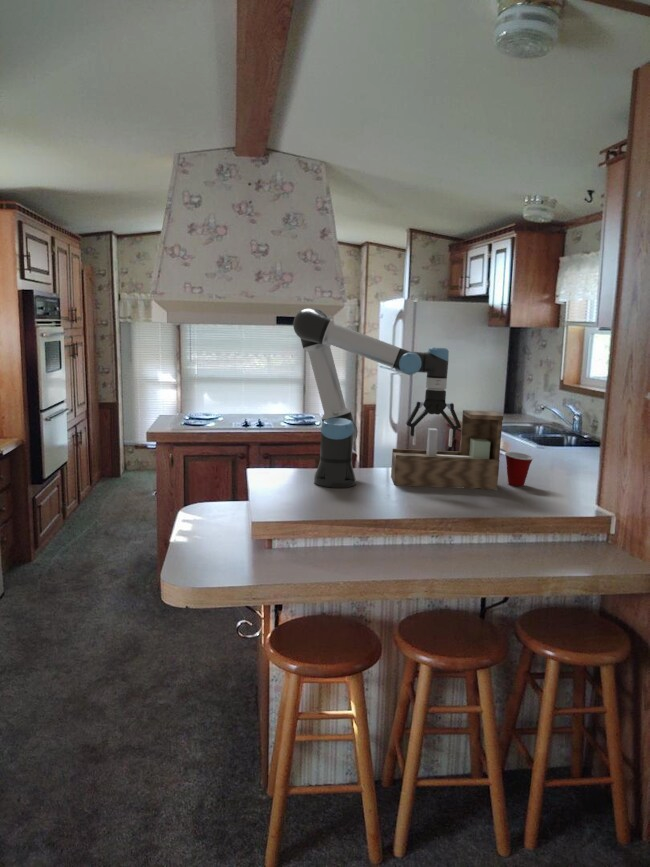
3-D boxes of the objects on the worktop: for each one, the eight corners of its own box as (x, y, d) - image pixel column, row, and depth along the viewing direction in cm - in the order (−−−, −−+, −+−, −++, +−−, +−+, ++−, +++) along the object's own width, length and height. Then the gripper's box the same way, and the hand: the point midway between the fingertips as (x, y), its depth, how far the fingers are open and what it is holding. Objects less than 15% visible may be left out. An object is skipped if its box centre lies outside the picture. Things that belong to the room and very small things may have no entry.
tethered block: (428, 457, 246) (430, 430, 245) (425, 454, 253) (427, 427, 251) (488, 460, 246) (491, 433, 244) (484, 457, 253) (486, 430, 251)
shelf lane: (394, 484, 244) (398, 411, 240) (390, 476, 258) (395, 406, 254) (496, 489, 244) (503, 416, 240) (488, 481, 258) (494, 411, 254)
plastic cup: (525, 489, 246) (528, 458, 245) (497, 484, 253) (500, 453, 251) (535, 485, 255) (538, 454, 253) (508, 480, 261) (511, 450, 260)
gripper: (403, 388, 242) (399, 445, 245) (471, 391, 242) (467, 448, 245) (401, 386, 249) (397, 442, 253) (467, 390, 249) (463, 445, 253)
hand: (431, 445), depth 249 cm, fingers open, 13 cm apart
